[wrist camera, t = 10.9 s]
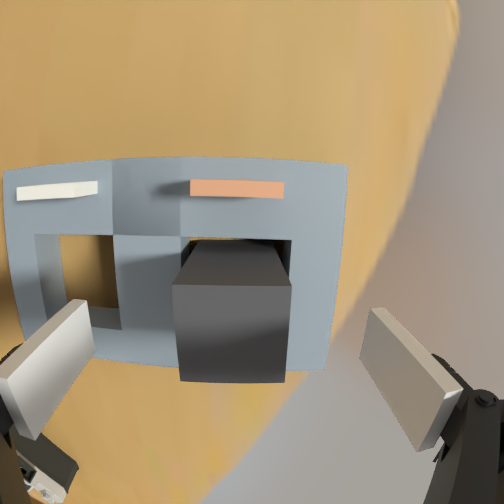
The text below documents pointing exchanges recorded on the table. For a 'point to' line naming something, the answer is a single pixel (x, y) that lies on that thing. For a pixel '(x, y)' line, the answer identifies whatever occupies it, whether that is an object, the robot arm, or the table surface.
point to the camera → (44, 466)
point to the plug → (232, 313)
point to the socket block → (175, 241)
